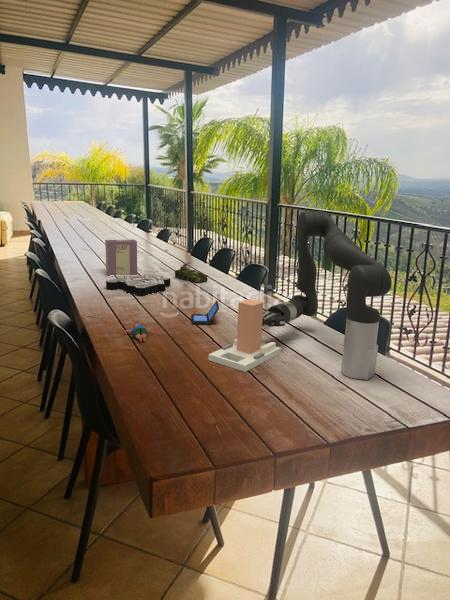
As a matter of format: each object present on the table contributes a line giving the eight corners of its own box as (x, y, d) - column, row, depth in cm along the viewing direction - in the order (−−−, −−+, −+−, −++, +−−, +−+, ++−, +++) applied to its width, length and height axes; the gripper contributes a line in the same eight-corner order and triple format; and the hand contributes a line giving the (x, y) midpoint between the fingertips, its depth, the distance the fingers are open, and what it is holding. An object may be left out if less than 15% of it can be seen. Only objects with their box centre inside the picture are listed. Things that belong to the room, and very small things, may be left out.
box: (108, 276, 265) (107, 241, 260) (106, 273, 273) (105, 239, 268) (137, 275, 270) (136, 241, 266) (134, 272, 279) (134, 239, 274)
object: (191, 316, 193) (191, 299, 191) (216, 316, 194) (217, 299, 192) (191, 325, 181) (191, 307, 179) (218, 326, 182) (219, 307, 180)
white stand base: (280, 353, 154) (281, 342, 153) (244, 372, 138) (245, 359, 137) (246, 343, 162) (246, 332, 161) (208, 360, 146) (208, 348, 145)
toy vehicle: (185, 276, 274) (185, 260, 272) (209, 282, 262) (209, 264, 259) (173, 278, 267) (173, 261, 265) (197, 284, 255) (198, 266, 252)
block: (260, 349, 152) (263, 302, 148) (250, 354, 147) (253, 305, 143) (246, 345, 155) (249, 299, 151) (236, 349, 150) (238, 302, 146)
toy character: (124, 332, 156) (119, 319, 170) (124, 345, 158) (119, 331, 171) (160, 329, 160) (152, 317, 174) (160, 342, 162) (152, 329, 175)
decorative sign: (101, 280, 234) (142, 272, 259) (102, 289, 235) (142, 280, 260) (143, 289, 220) (181, 279, 244) (143, 298, 221) (181, 287, 246)
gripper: (267, 300, 168) (239, 309, 154) (299, 307, 160) (273, 317, 146) (265, 320, 169) (238, 330, 156) (297, 327, 162) (271, 339, 148)
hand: (255, 324), depth 151 cm, fingers closed
